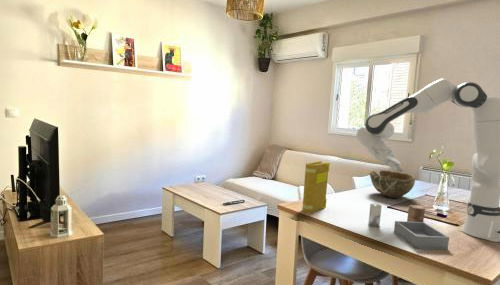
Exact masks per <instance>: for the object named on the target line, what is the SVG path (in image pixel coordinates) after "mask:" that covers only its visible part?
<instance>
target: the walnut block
mask: <svg viewBox="0 0 500 285" xmlns="http://www.w3.org/2000/svg"><path fill="white" fill-rule="evenodd" d="M407 211H408V212H407V220H406V222H424V219H425V211H426V208H424V207H423V206H421V205H413V204H409V205H408V210H407Z"/></svg>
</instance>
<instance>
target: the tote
mask: <svg viewBox="0 0 500 285" xmlns="http://www.w3.org/2000/svg"><path fill="white" fill-rule="evenodd" d="M393 233H395V234H396V235H397V236H399V237H400V238H402V239H403V240H404V241H405V242H406V243H407V244H409V245H410V246H412V247H413V248H414V249H422V250H424V249H425V250H426V249H427V250H449V242H450V237H449V236H447V235H446V234H444V233H443V232H441V231H440V230H437V229H435V227H433V226H431V225H430V224H428V223H426V222H424V221H423V222H407V220H406V221H403V220H399V221H398V220H395V221H394V228H393Z"/></svg>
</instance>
